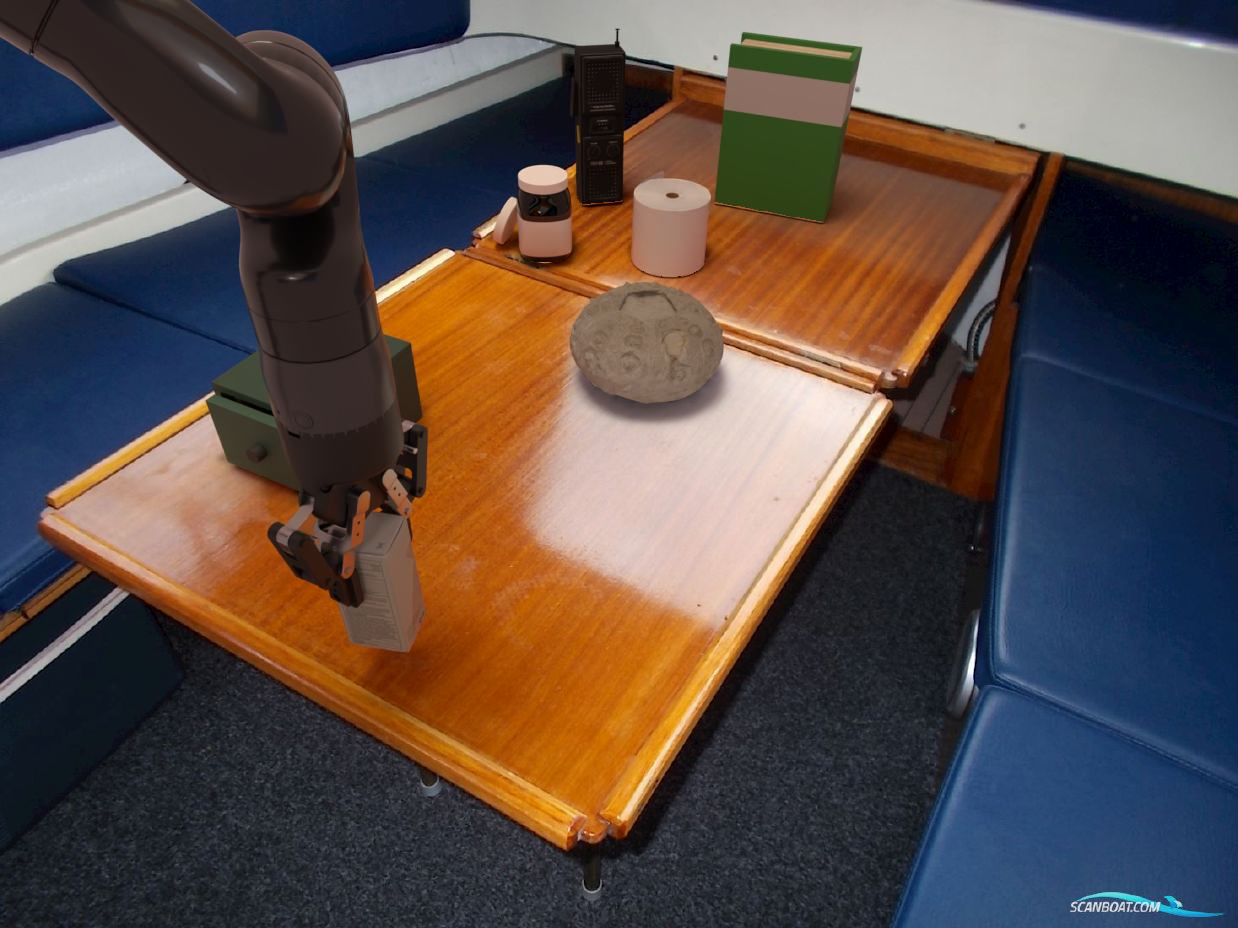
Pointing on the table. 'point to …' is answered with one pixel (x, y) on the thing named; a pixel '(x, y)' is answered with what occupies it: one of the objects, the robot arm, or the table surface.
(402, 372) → the cabinet
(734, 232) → the table surface
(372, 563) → the box
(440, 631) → the table surface
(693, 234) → the toilet tissue
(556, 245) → the spread jar
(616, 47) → the portable radio
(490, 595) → the table surface
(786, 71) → the hardback book
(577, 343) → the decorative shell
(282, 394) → the robot arm
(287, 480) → the drawer
